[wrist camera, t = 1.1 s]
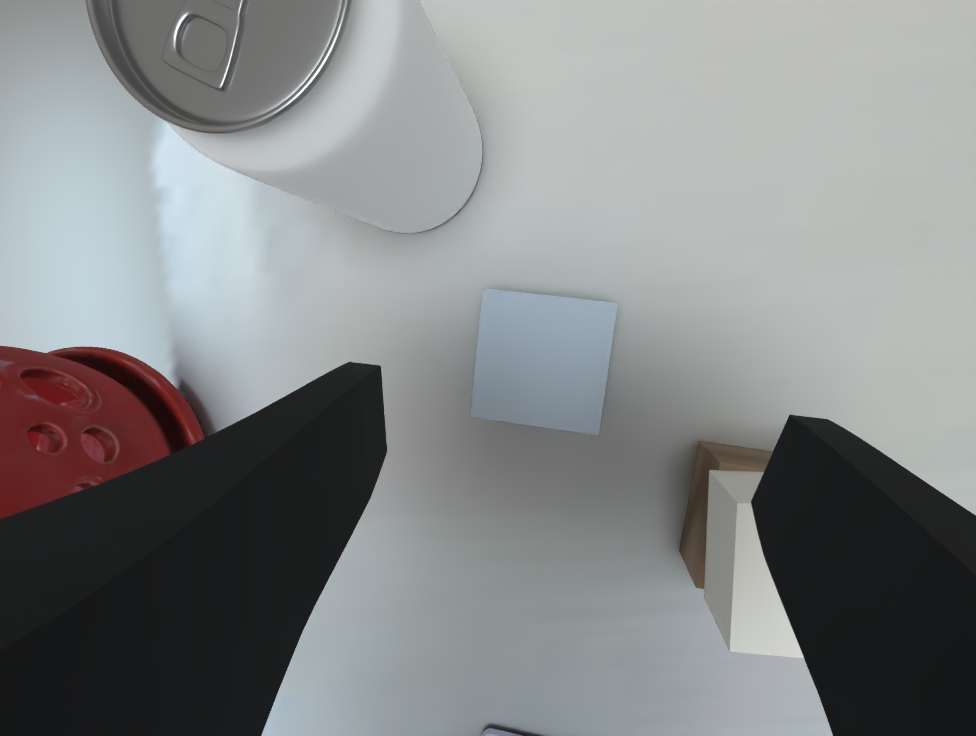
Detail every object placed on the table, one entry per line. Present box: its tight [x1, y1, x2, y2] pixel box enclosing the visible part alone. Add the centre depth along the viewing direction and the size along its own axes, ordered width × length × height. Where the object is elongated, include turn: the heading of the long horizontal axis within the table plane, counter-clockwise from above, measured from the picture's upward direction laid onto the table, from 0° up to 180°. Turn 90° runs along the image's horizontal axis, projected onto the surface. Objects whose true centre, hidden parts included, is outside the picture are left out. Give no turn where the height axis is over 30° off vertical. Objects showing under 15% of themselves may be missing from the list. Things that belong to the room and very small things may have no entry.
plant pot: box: [0, 346, 205, 519], centre depth 19 cm, size 13×13×12 cm
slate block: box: [469, 288, 618, 436], centre depth 20 cm, size 5×5×3 cm
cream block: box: [704, 470, 804, 658], centre depth 16 cm, size 5×5×3 cm
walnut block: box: [679, 441, 773, 589], centre depth 19 cm, size 5×5×3 cm
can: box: [86, 0, 482, 233], centre depth 15 cm, size 6×6×12 cm
